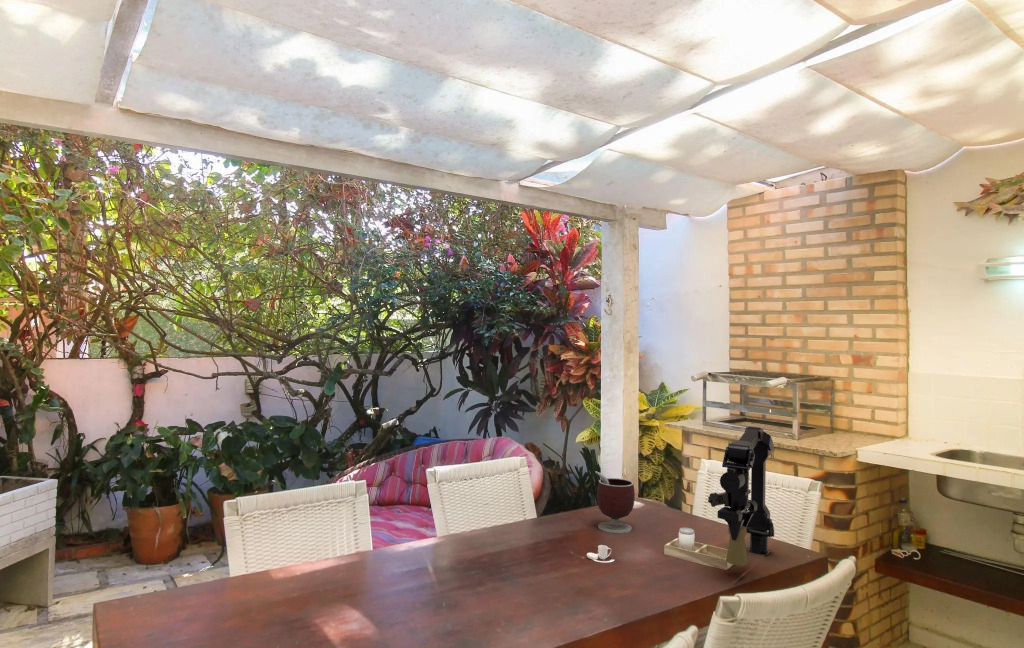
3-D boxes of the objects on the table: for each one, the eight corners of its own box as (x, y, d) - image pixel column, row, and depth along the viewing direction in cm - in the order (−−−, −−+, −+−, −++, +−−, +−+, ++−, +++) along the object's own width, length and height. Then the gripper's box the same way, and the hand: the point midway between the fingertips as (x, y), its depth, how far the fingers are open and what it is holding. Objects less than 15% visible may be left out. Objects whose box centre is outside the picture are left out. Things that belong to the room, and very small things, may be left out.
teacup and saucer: (584, 561, 203) (585, 548, 203) (591, 553, 211) (591, 541, 211) (611, 565, 200) (612, 552, 200) (617, 557, 207) (617, 545, 208)
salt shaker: (681, 550, 213) (682, 526, 214) (696, 554, 210) (697, 529, 211) (675, 554, 210) (676, 529, 210) (690, 557, 206) (691, 533, 207)
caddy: (677, 548, 217) (677, 537, 217) (737, 562, 205) (737, 551, 205) (664, 556, 209) (664, 545, 209) (726, 572, 197) (726, 560, 197)
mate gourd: (639, 527, 241) (640, 473, 241) (625, 536, 229) (626, 480, 229) (601, 519, 249) (603, 468, 249) (585, 528, 237) (587, 474, 238)
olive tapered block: (748, 566, 189) (749, 528, 189) (727, 564, 190) (728, 526, 190) (745, 559, 195) (746, 523, 195) (724, 557, 196) (725, 521, 196)
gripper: (722, 477, 205) (721, 525, 205) (700, 486, 190) (699, 539, 190) (758, 482, 198) (757, 533, 198) (738, 493, 184) (737, 548, 183)
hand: (737, 538), depth 193 cm, fingers closed on olive tapered block, 5 cm apart
